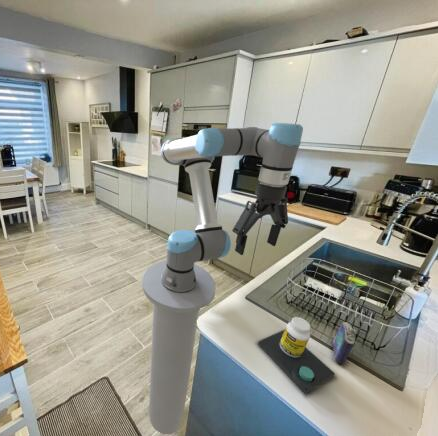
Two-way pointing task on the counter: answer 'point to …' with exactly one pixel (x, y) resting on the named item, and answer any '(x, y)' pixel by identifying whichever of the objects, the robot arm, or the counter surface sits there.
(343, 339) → the flask
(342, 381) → the counter surface
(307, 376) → the scale button
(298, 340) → the pill bottle
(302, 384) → the scale
